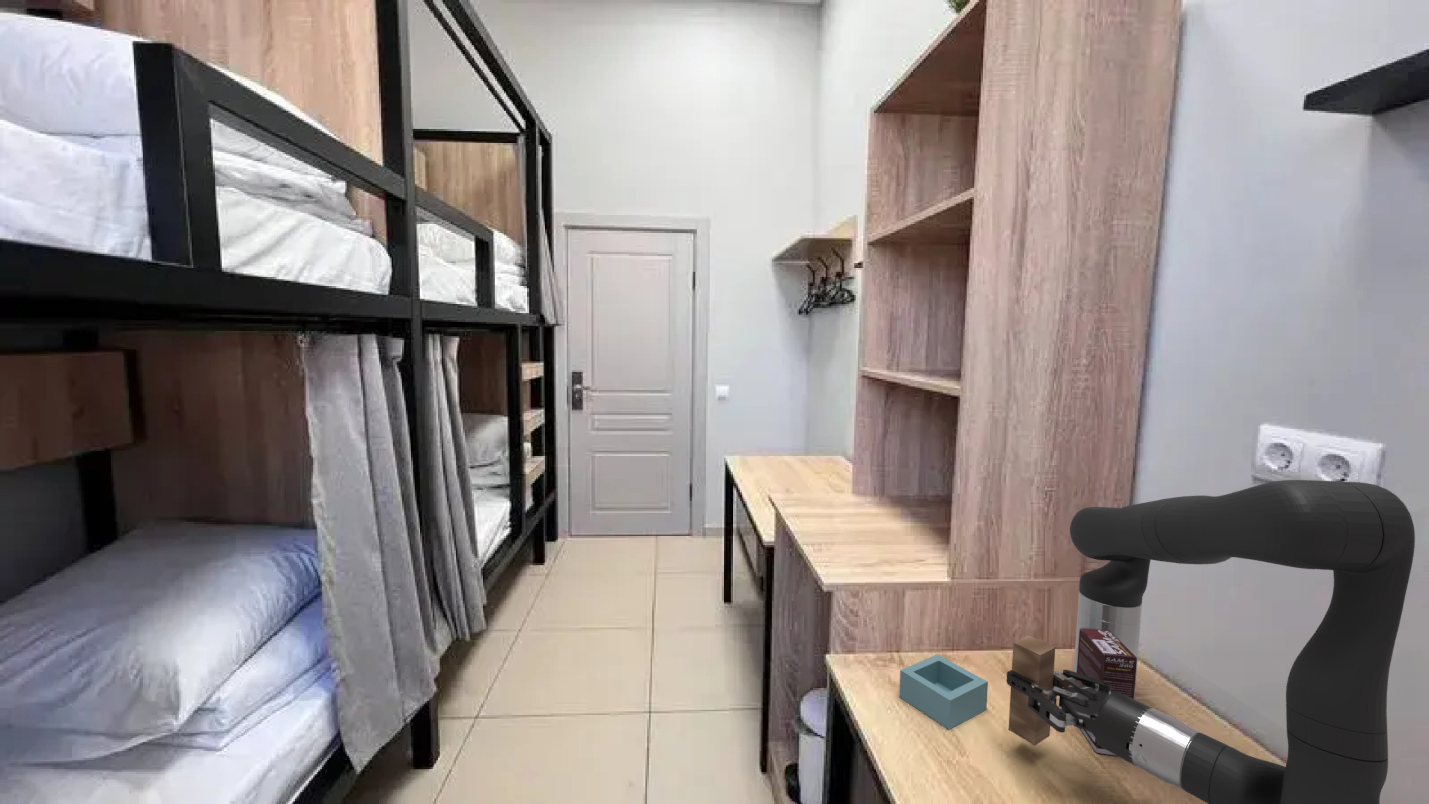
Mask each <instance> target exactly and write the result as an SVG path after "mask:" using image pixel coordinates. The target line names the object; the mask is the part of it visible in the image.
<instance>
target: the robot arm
mask: <svg viewBox="0 0 1429 804" xmlns="http://www.w3.org/2000/svg"><path fill="white" fill-rule="evenodd" d="M1069 525H1070V526H1069V536H1070V539H1071V541H1072V543H1073V546H1074V547H1075V549H1077V551H1078V552H1079V553H1080V554H1082V555H1083V556H1085V557H1087V558H1089V559H1091V560H1092V559H1093V560H1099V561H1109V562H1108V563H1106V564H1104V565H1103V566H1101V567H1099V568H1096V569H1093V570H1089V571H1086V572H1084V573H1083V574H1082V575H1081V576H1080V578H1079V584H1078V601H1077V614H1076V616H1077V617H1076V618H1077V619H1076V629H1075V630H1076V631H1075V649H1074V658H1073V659H1074V660H1073V661H1074V662H1073V671H1072V670H1070V669H1063V670H1062V672H1060V671H1057V670H1054V677H1053V686H1052V687H1051V688H1049V687H1046V686H1044V685H1041V684H1038V683H1035V682H1034V681H1032V680H1030V679H1028V678H1026V677H1024V676H1023V675H1021V674H1019V673H1017V672H1015V671H1013V670H1012V669H1009V671H1007V672H1006V683H1007V685H1008V686H1009V687H1010V688H1011V687H1012V688H1015V689H1016V690H1018V691H1020V692H1022V693H1024V694H1026V695H1027V696H1028V707H1029V708H1030V709H1031V710H1032V711H1033V712H1035V713H1036V714H1037V715H1038V716H1039V717H1041V718H1042V719H1043V720H1044V721H1045V722H1047V723H1048V724H1049V725H1050V727H1052V729H1054V730H1055V731H1056V732H1058V733H1065V732H1066V727H1067V726H1074V727H1075V728H1078V729H1080V730H1081V729H1083V730H1086V731H1089V732H1091V733H1092V734H1093V735H1094V737H1095V738H1096V740H1097V742H1098V744H1099V745H1100V746H1101V747H1102V748H1104V749H1106V750H1107V751H1109V752H1111V753H1113V754H1115V755H1116V756H1115V757H1118V758H1120V759H1122V760H1124V761H1125V762H1127V763H1130V764H1131V765H1133V766H1135V767H1136V768H1138V769H1141V770H1142V771H1144V772H1145V773H1147V774H1149V775H1151V776H1153V777H1155V778H1157V779H1158V780H1160V781H1163V782H1165V783H1167V784H1169V785H1172V786H1174V787H1176V788H1179V789H1180V790H1182V791H1185V792H1186V793H1188V794H1190V795H1192V796H1193V797H1195V798H1197V799H1199V800H1201V801H1203V802H1204V803H1206V804H1380V799H1381V792H1382V790H1383V787H1384V785H1385V783H1386V780H1387V775H1388V771H1389V770H1388V769H1389V746H1388V745H1389V744H1388V743H1389V741H1388V740H1389V739H1388V720H1387V719H1388V718H1387V717H1388V715H1387V714H1388V712H1387V705H1388V702H1387V701H1388V686H1389V676H1390V670H1391V669H1390V667H1391V662H1392V659H1393V654H1394V650H1395V649H1394V648H1395V643H1396V640H1397V637H1398V632H1399V628H1400V623H1401V618H1402V613H1403V611H1404V610H1403V609H1404V604H1405V601H1406V593H1407V589H1408V584H1409V580H1410V575H1411V571H1412V566H1413V563H1414V557H1415V556H1414V554H1415V547H1416V546H1415V545H1416V543H1415V542H1416V533H1415V527H1414V521H1413V518H1412V515H1411V513H1410V511H1409V509H1408V507H1407V506H1406V504H1405V503H1404V501H1402V499H1400V497H1399V496H1397V495H1396V494H1395V493H1393V492H1391V491H1390V490H1389V489H1387V488H1384V487H1382V486H1380V485H1378V484H1372V483H1367V482H1359V481H1344V480H1343V481H1341V480H1337V481H1334V480H1311V479H1309V480H1308V479H1285V480H1276V481H1269V482H1266V483H1262V484H1259V485H1254V486H1251V487H1248V488H1245V489H1240V490H1238V491H1234V492H1231V493H1227V494H1222V495H1217V496H1215V495H1214V496H1211V495H1185V496H1177V497H1175V496H1174V497H1167V498H1161V499H1158V500H1151V501H1146V502H1140V503H1136V504H1131V505H1126V506H1122V507H1107V506H1104V507H1103V506H1088V507H1083V508H1082V509H1080V510H1078V511H1077V512H1076V513H1075V514H1074V516H1073V518H1072V519H1071V523H1070V524H1069ZM1231 558H1235V559H1236V558H1237V559H1244V560H1250V561H1251V560H1252V561H1257V562H1264V563H1268V564H1269V563H1270V564H1274V565H1279V566H1285V567H1291V568H1296V569H1302V570H1303V569H1304V570H1323V571H1333V587H1332V588H1333V589H1332V597H1331V600H1330V603H1329V606H1328V608H1327V610H1326V612H1325V615H1324V616H1323V618H1322V620H1321V622H1320V623H1319V625H1318V627H1317V628H1316V630H1315V631H1314V633H1313V634H1312V636H1311V637H1310V638H1309V640H1308V641H1307V642H1306V643H1305V645H1304V646H1303V648H1302V649H1301V651H1300V652H1299V654H1298V655H1297V657H1296V658H1295V659H1294V662H1293V664H1292V666H1291V668H1290V670H1289V674H1288V676H1287V681H1286V688H1285V702H1286V703H1285V712H1286V714H1285V716H1286V717H1285V718H1286V737H1287V757H1286V759H1287V760H1286V762H1285V763H1286V764H1285V766H1284V765H1281V764H1279V763H1276V762H1272V761H1271V762H1270V761H1268V760H1264V759H1261V758H1257V757H1254V756H1251V755H1249V754H1246V753H1244V752H1242V751H1240V750H1238V749H1236V748H1235V747H1233V746H1230V745H1229V744H1226V743H1224V742H1222V741H1220V740H1217V739H1215V738H1213V737H1211V736H1209V735H1207V734H1204V733H1203V732H1200V731H1199V730H1196V729H1194V728H1193V727H1191V726H1189V724H1186V723H1185V722H1183V721H1181V720H1180V719H1177V718H1176V717H1173V716H1171V715H1169V714H1166V713H1165V712H1163V711H1160V710H1158V709H1157V708H1154V707H1151V706H1149V705H1147V704H1146V703H1143V702H1141V701H1139V700H1137V699H1135V696H1136V691H1135V692H1134V699H1133V698H1130V697H1128V696H1126V695H1124V694H1122V693H1119V692H1113V693H1111V684H1109V683H1107V682H1104V681H1101V680H1098V679H1095V678H1092V677H1089V676H1085V675H1082V674H1079V673H1077V661H1078V645H1079V631H1080V628H1088V629H1098V630H1106V631H1111V632H1112V633H1113V634H1114V635H1115V636H1116V637H1117V638H1118V639H1119V640H1120V641H1121V642H1122V643H1123V644H1124V645H1125V646H1126V647H1127V648H1128V649H1129V650H1130V651H1131V652H1132V653H1133V654H1134V655H1135V656H1136V657H1137V663H1138V660H1139V659H1138V658H1139V647H1140V636H1141V634H1140V633H1141V622H1142V620H1141V619H1142V618H1141V617H1142V607H1143V606H1142V605H1143V604H1142V603H1143V597H1144V594H1145V592H1146V590H1147V587H1148V579H1149V572H1150V567H1151V561H1157V562H1165V563H1171V564H1172V563H1173V564H1179V565H1180V564H1182V565H1211V564H1212V565H1213V564H1214V565H1216V564H1219V563H1223V562H1226V561H1227V560H1230V559H1231ZM1137 673H1138V665H1137V666H1136V676H1137ZM1077 680H1079V681H1081V682H1082V683H1080V682H1079V681H1077ZM1136 684H1137V678H1136V679H1135V687H1136V686H1137V685H1136ZM1091 687H1092V688H1091ZM1041 692H1042V693H1045V694H1047V695H1048V696H1049V699H1047V698H1046V697H1045V696H1043V695H1042V694H1041ZM1058 697H1059V699H1058ZM1057 699H1058V705H1057ZM1038 704H1039V705H1040V706H1039V705H1038Z"/></svg>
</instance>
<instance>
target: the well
mask: <svg viewBox="0 0 1429 804" xmlns="http://www.w3.org/2000/svg"><path fill="white" fill-rule="evenodd" d="M899 672H900V673H899V696H898V697H899V699H902V701H905V702H906V703H908V704H909V705H911V706H912V707H914V709H916V710H917V711H920V712H921V713H922V714H924V715H926V716H927V717H928V718H930V719H932V720H933V721H935V722H936V723H937V724H939V725H940V726H942V727H944V728H946V729H947V730H948V731H949V730H951V729H954V728H955V727H958V726H959V725H960V724H963V723H965V722H966V721H968V720H970V719H971V718H974V717H975V716H978V715H979V714H981V713H984V711H986V710H987V709H988V708H987V706H988V705H987V704H988V690H989V689H988V686H989V682H988V681H987V680H986V679H984V678H982V677H980V676H978V675H976V674H974V673H973V672H971V671H969V670H967V669H965V668H964V667H962V666H960V665H958V664H957V663H955V662H953V661H950V660H949V659H947V658H945V657H943V656H941V655H939V654H937V653H936V654H935V655H932V656H930V657H928V658H925V659H923V660H920V661H918V662H916V663H914V664H911V665H909V666H906V667H905V668H902V669H900V671H899Z"/></svg>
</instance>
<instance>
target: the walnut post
mask: <svg viewBox="0 0 1429 804" xmlns="http://www.w3.org/2000/svg"><path fill="white" fill-rule="evenodd" d="M1055 658H1056V647H1055V646H1053V645H1051V644H1049V643H1047V642H1044V641H1042V640H1041V639H1040V640H1039V639H1038V638H1036V637H1035V638H1034V637H1033V636H1031V635H1026V636H1024V637H1022V638H1020V639H1018V640H1015V641H1013V643H1012V659H1011V661H1012V662H1011V670H1013V671H1015V672H1017V673H1019V674H1021V675H1023V676H1024V677H1026V678H1028V679H1030V680H1032V681H1034V682H1035V683H1038V684H1041V685H1044V686H1046V687H1049V688H1051V687H1052V686H1053V677H1054V671H1055ZM1041 694H1042V695H1043V696H1045V697H1046V698H1047V699H1049V696H1048V695H1047V694H1045V693H1042V692H1041ZM1038 705H1039V704H1038ZM1039 706H1040V705H1039ZM1008 731H1009V732H1011V733H1013V734H1014V735H1016V736H1018V737H1020V738H1021V739H1022V740H1025V741H1026V742H1028V743H1030V744H1031V745H1033V746H1034V747H1035V746H1037V745H1038V744H1040V743H1041V742H1042V741H1044V740H1046V739H1047V738H1049V737H1050V736H1051V726H1050V725H1049V724H1048V723H1047V722H1045V721H1044V720H1043V719H1042V718H1041V717H1039V716H1038V715H1037V714H1036V713H1035V712H1033V711H1032V710H1031V709H1030V708H1029V707H1028V696H1027V695H1026V694H1024V693H1022V692H1020V691H1018V690H1016V689H1015V688H1012V687H1011V686H1010V697H1009V714H1008Z"/></svg>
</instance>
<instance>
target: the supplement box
mask: <svg viewBox="0 0 1429 804" xmlns="http://www.w3.org/2000/svg"><path fill="white" fill-rule="evenodd" d="M1136 666H1137V667H1138V662H1137V657H1136V656H1135V655H1134V654H1133V653H1132V652H1131V651H1130V650H1129V649H1128V648H1127V647H1126V646H1125V645H1124V644H1123V643H1122V642H1121V641H1120V640H1119V639H1118V638H1117V637H1116V636H1115V635H1114V634H1113V633H1112V632H1111V631H1106V630H1098V629H1088V628H1080V631H1079V645H1078V661H1077V673H1079V674H1082V675H1085V676H1089V677H1092V678H1095V679H1098V680H1101V681H1104V682H1107V683H1109V684H1111V693H1113V692H1119V693H1122V694H1124V695H1126V696H1128V697H1130V698H1133V699H1135V697H1134V692H1135V693H1136V686H1135V679H1136V680H1137V675H1136ZM1077 681H1079V680H1077ZM1079 682H1080V683H1082V682H1081V681H1079ZM1091 688H1092V687H1091ZM1080 731H1081V732H1082V734H1083V735H1084V737H1085V738H1086V740H1087V741H1088V742H1089V744H1090V745H1091V747H1092V749H1093V750H1094V751H1095V752H1096V754H1101V755H1102V754H1103V755H1108V756H1115V757H1117V756H1116V755H1115V754H1113V753H1111V752H1109V751H1107V750H1106V749H1104V748H1102V747H1101V746H1100V745H1099V744H1098V742H1097V740H1096V738H1095V737H1094V735H1093V734H1092V733H1091V732H1089V731H1086V730H1083V729H1080Z"/></svg>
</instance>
